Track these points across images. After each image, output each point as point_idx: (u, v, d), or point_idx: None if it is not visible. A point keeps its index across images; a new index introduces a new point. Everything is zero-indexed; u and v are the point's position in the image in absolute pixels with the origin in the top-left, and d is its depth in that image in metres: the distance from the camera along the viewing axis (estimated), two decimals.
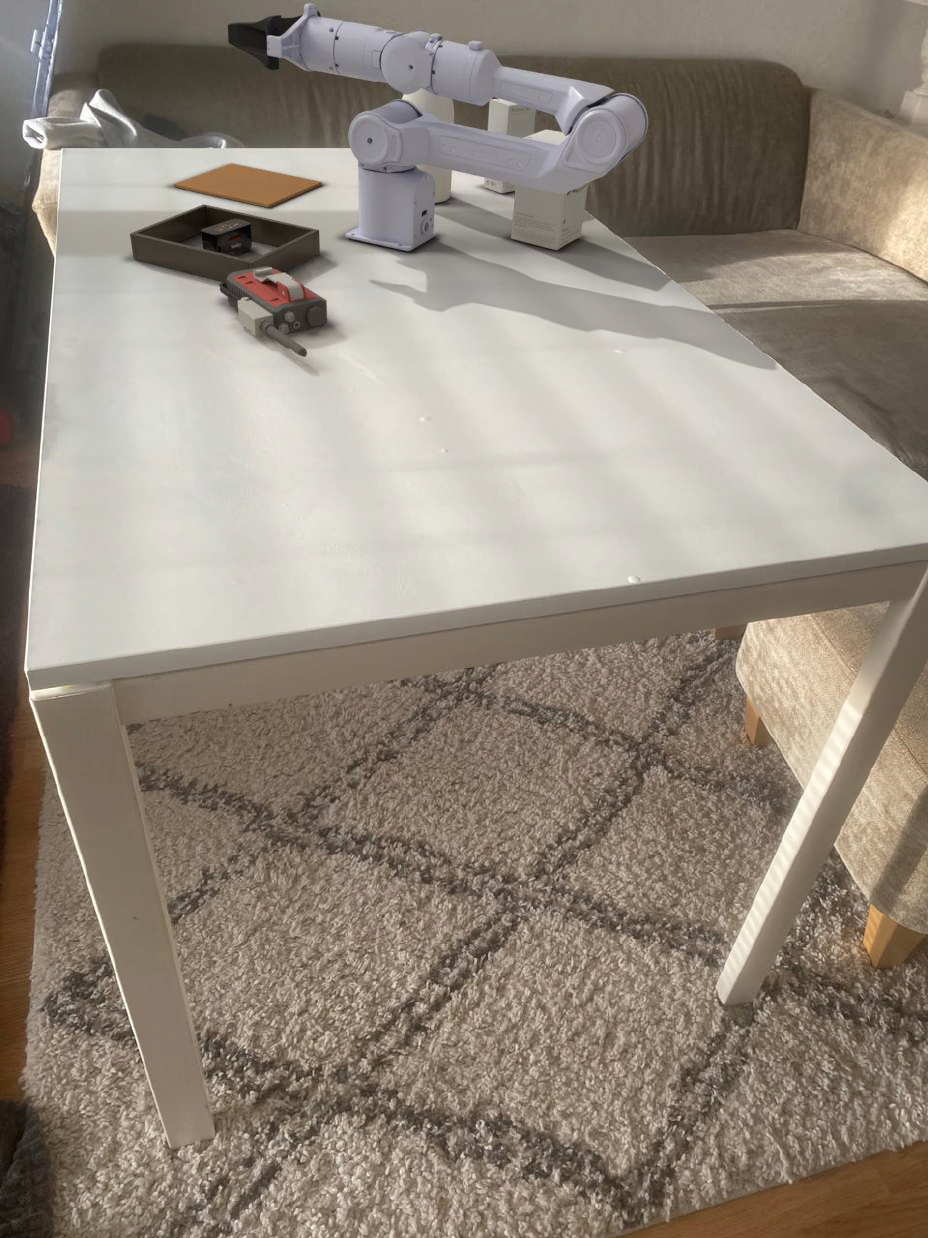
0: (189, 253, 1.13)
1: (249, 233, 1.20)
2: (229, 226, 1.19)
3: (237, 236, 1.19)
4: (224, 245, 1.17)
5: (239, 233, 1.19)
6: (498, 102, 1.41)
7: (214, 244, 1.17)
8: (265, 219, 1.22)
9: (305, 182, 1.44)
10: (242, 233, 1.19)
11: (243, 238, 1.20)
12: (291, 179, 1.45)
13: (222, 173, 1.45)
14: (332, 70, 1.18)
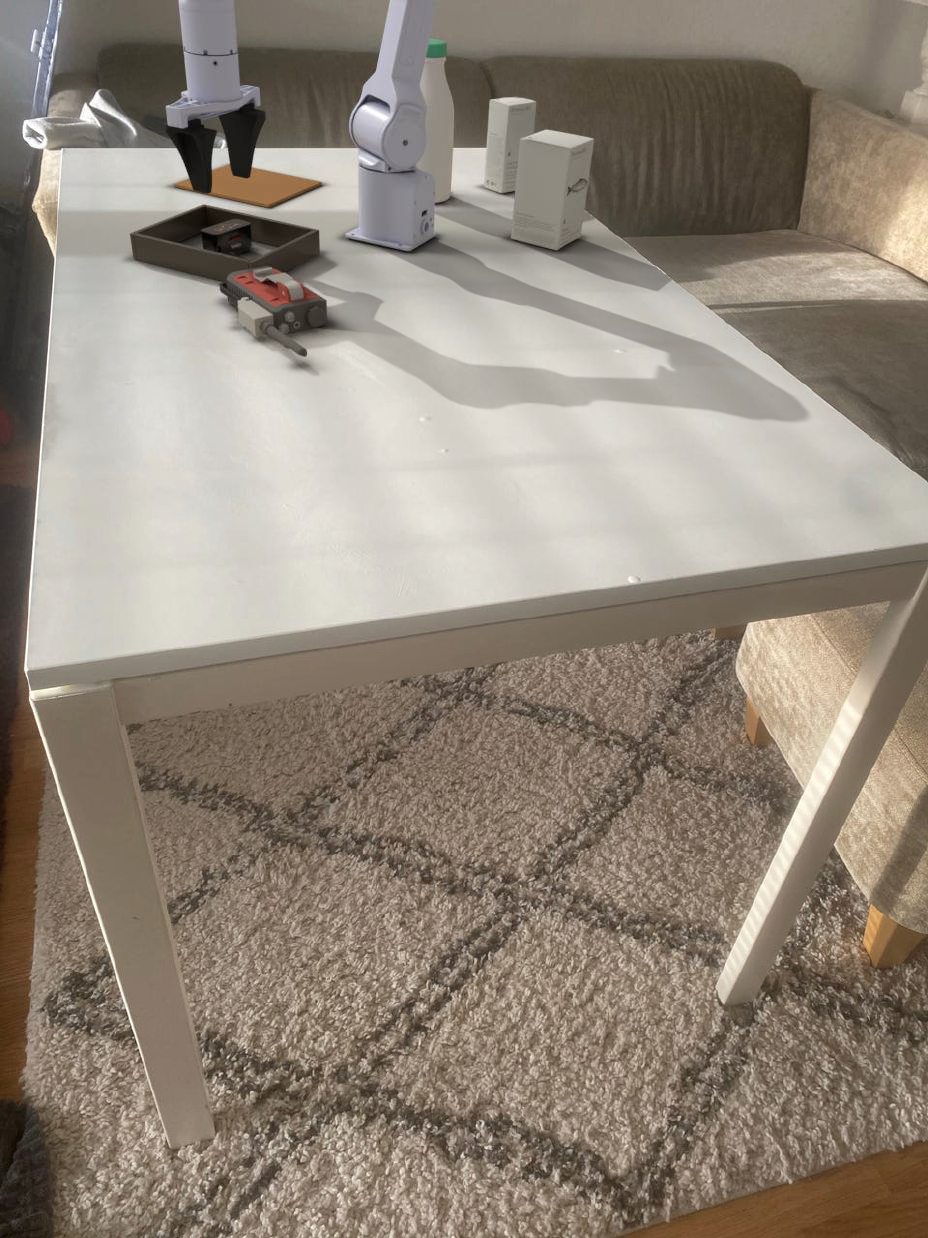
0: (189, 253, 1.13)
1: (249, 233, 1.20)
2: (229, 226, 1.19)
3: (237, 236, 1.19)
4: (224, 245, 1.17)
5: (239, 233, 1.19)
6: (498, 102, 1.41)
7: (214, 244, 1.17)
8: (265, 219, 1.22)
9: (305, 182, 1.44)
10: (242, 233, 1.19)
11: (243, 238, 1.20)
12: (291, 179, 1.45)
13: (222, 173, 1.45)
14: (218, 63, 1.04)
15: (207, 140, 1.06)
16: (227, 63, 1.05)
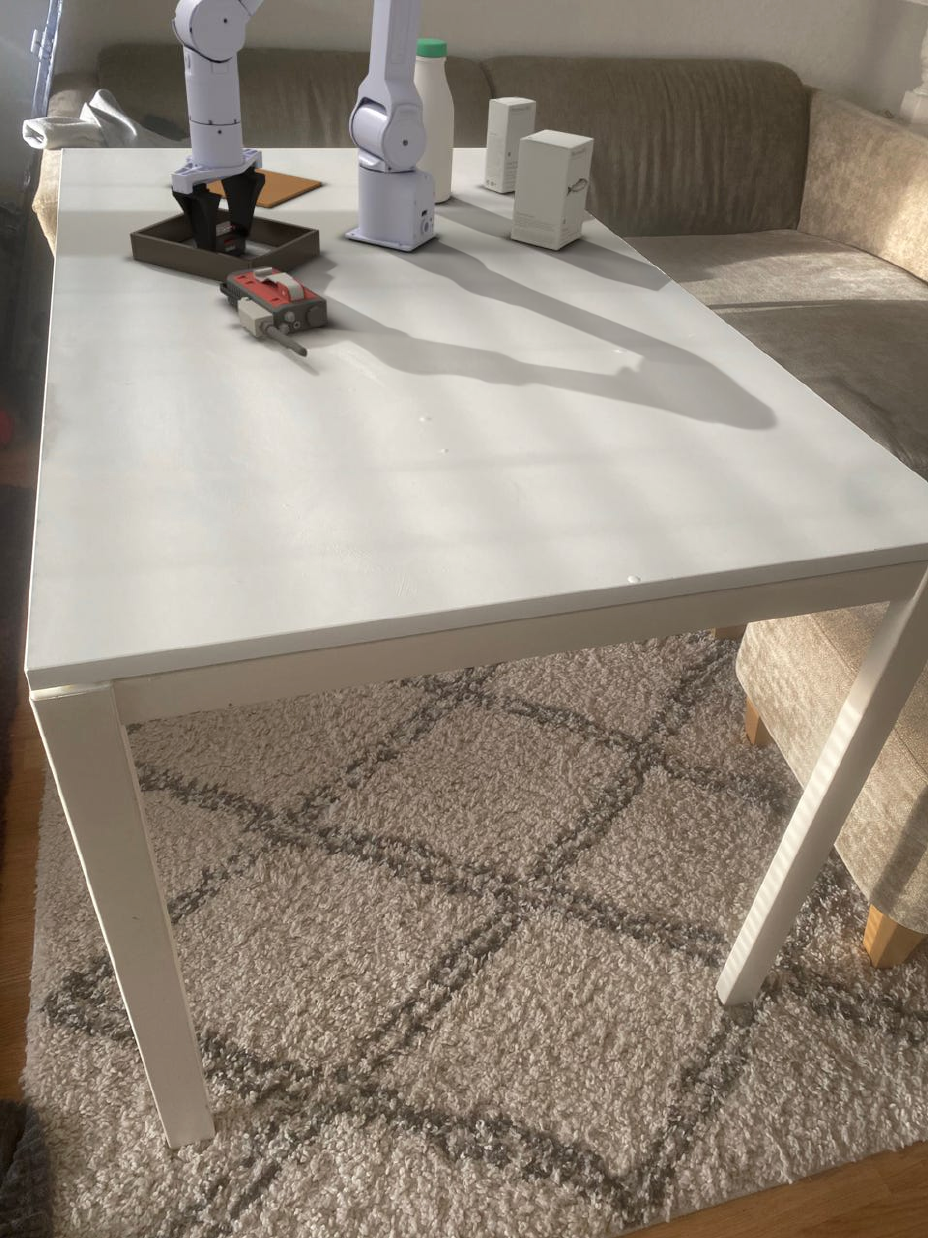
0: (189, 253, 1.13)
1: (243, 235, 1.19)
2: (223, 229, 1.18)
3: (231, 239, 1.18)
4: (219, 248, 1.17)
5: (233, 236, 1.18)
6: (498, 102, 1.41)
7: None
8: (265, 219, 1.22)
9: (305, 182, 1.44)
10: (236, 236, 1.18)
11: (237, 241, 1.19)
12: (291, 179, 1.45)
13: None
14: (223, 131, 1.08)
15: (212, 204, 1.10)
16: (231, 132, 1.09)
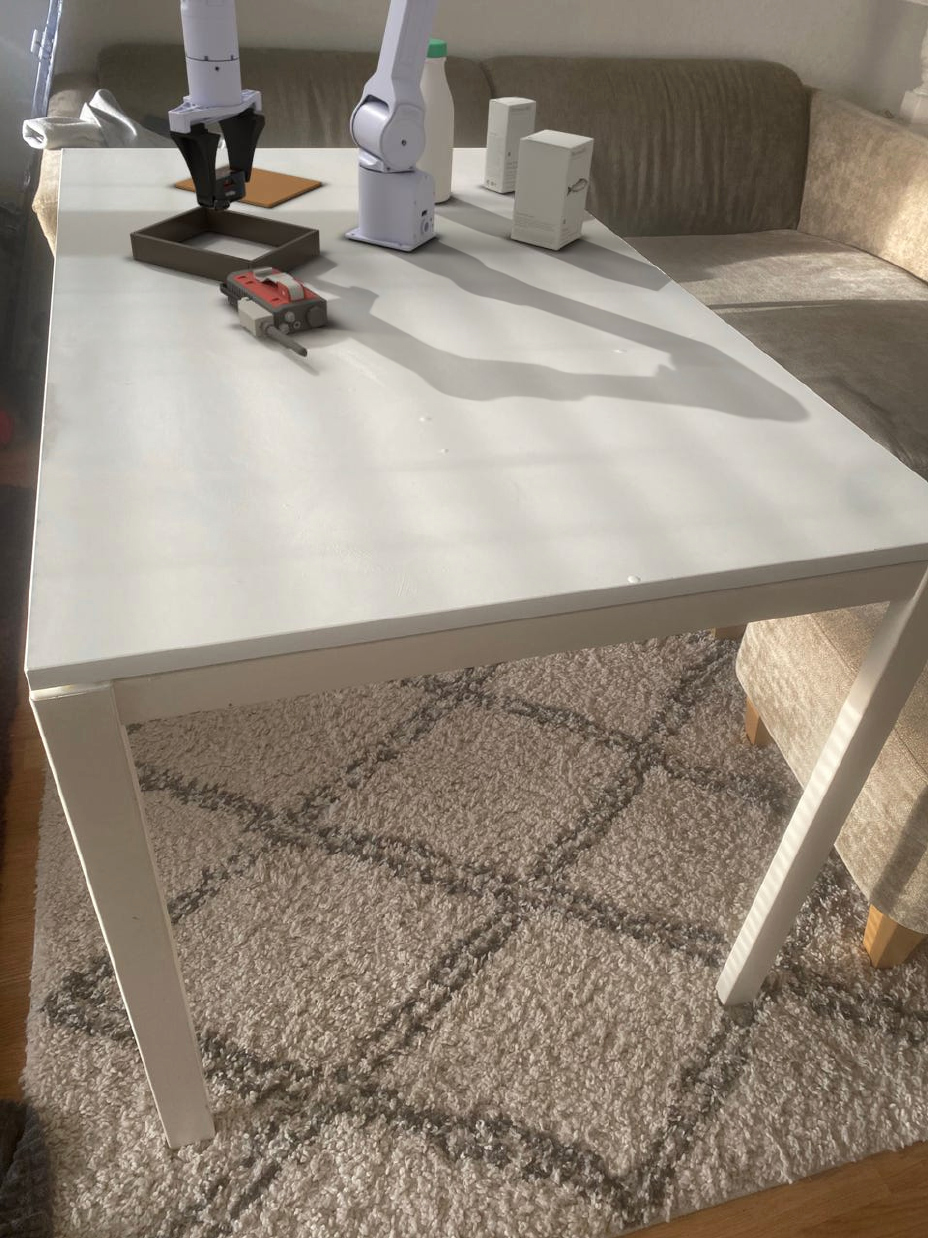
0: (189, 253, 1.13)
1: (243, 180, 1.17)
2: (222, 173, 1.15)
3: (231, 183, 1.15)
4: (218, 192, 1.14)
5: (233, 180, 1.15)
6: (498, 102, 1.41)
7: None
8: (265, 219, 1.22)
9: (305, 182, 1.44)
10: (236, 180, 1.16)
11: (237, 186, 1.16)
12: (291, 179, 1.45)
13: None
14: (220, 68, 1.06)
15: (211, 144, 1.08)
16: (229, 68, 1.06)
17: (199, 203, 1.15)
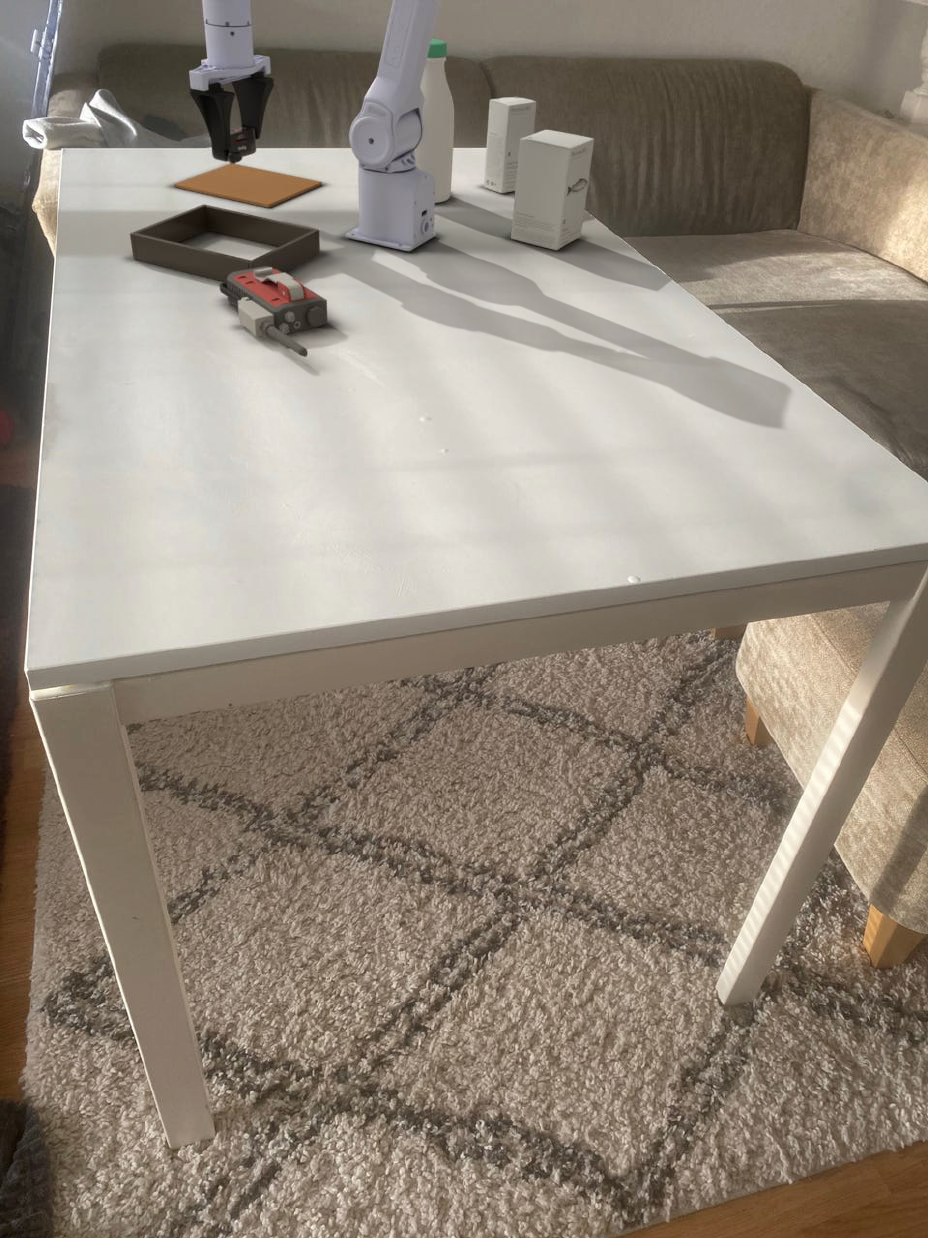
0: (189, 253, 1.13)
1: (253, 137, 1.30)
2: (235, 129, 1.28)
3: (243, 139, 1.29)
4: (231, 146, 1.27)
5: (245, 136, 1.29)
6: (498, 102, 1.41)
7: None
8: (265, 219, 1.22)
9: (305, 182, 1.44)
10: (247, 136, 1.29)
11: (248, 141, 1.29)
12: (291, 179, 1.45)
13: (222, 173, 1.45)
14: (235, 33, 1.19)
15: (226, 101, 1.21)
16: (242, 33, 1.19)
17: (214, 156, 1.28)
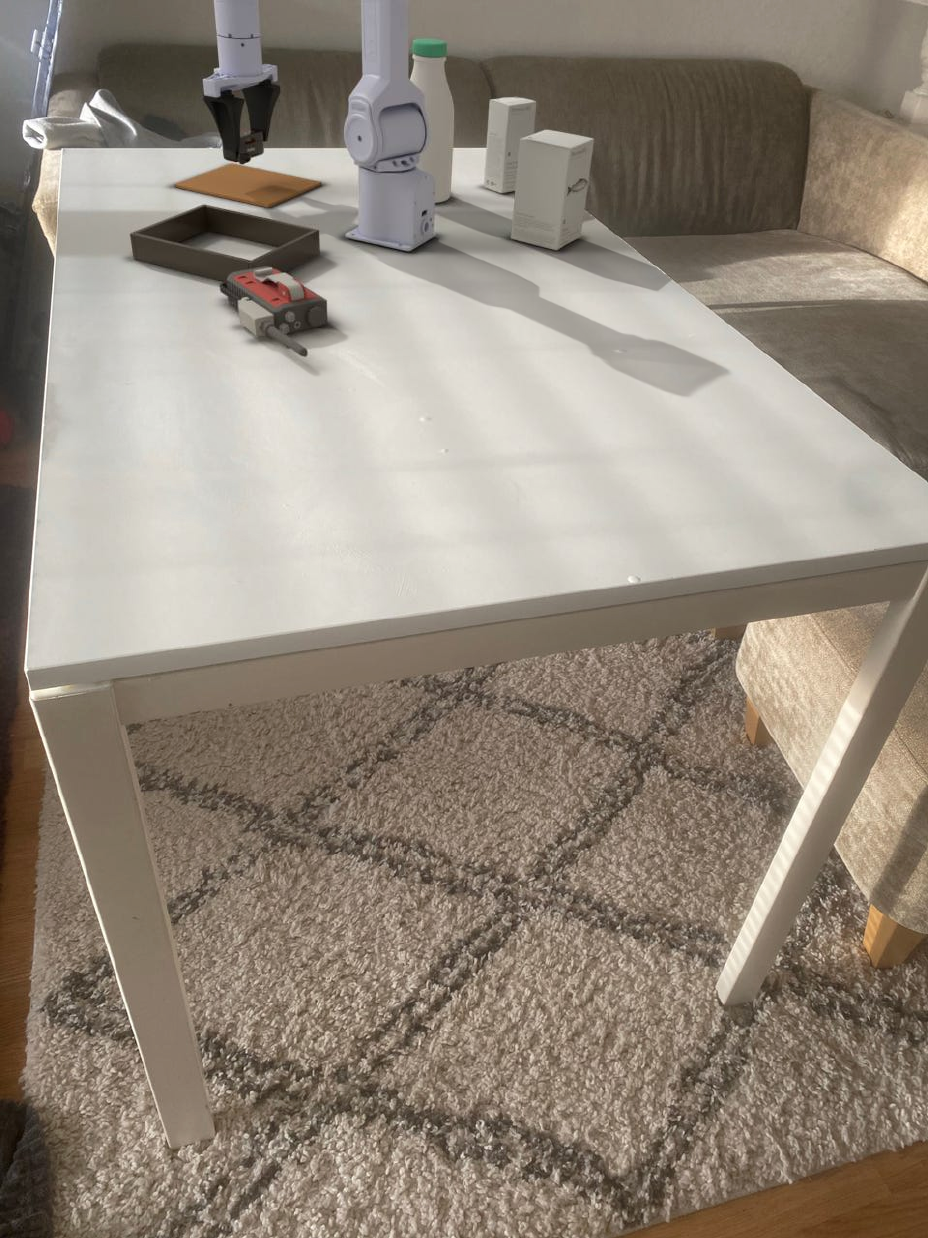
0: (189, 253, 1.13)
1: (261, 139, 1.40)
2: (244, 132, 1.39)
3: (252, 141, 1.39)
4: (241, 148, 1.38)
5: (253, 138, 1.39)
6: (498, 102, 1.41)
7: None
8: (265, 219, 1.22)
9: (305, 182, 1.44)
10: (256, 139, 1.39)
11: (256, 143, 1.40)
12: (291, 179, 1.45)
13: (222, 173, 1.45)
14: (245, 44, 1.29)
15: (237, 107, 1.31)
16: (252, 44, 1.30)
17: (225, 157, 1.38)
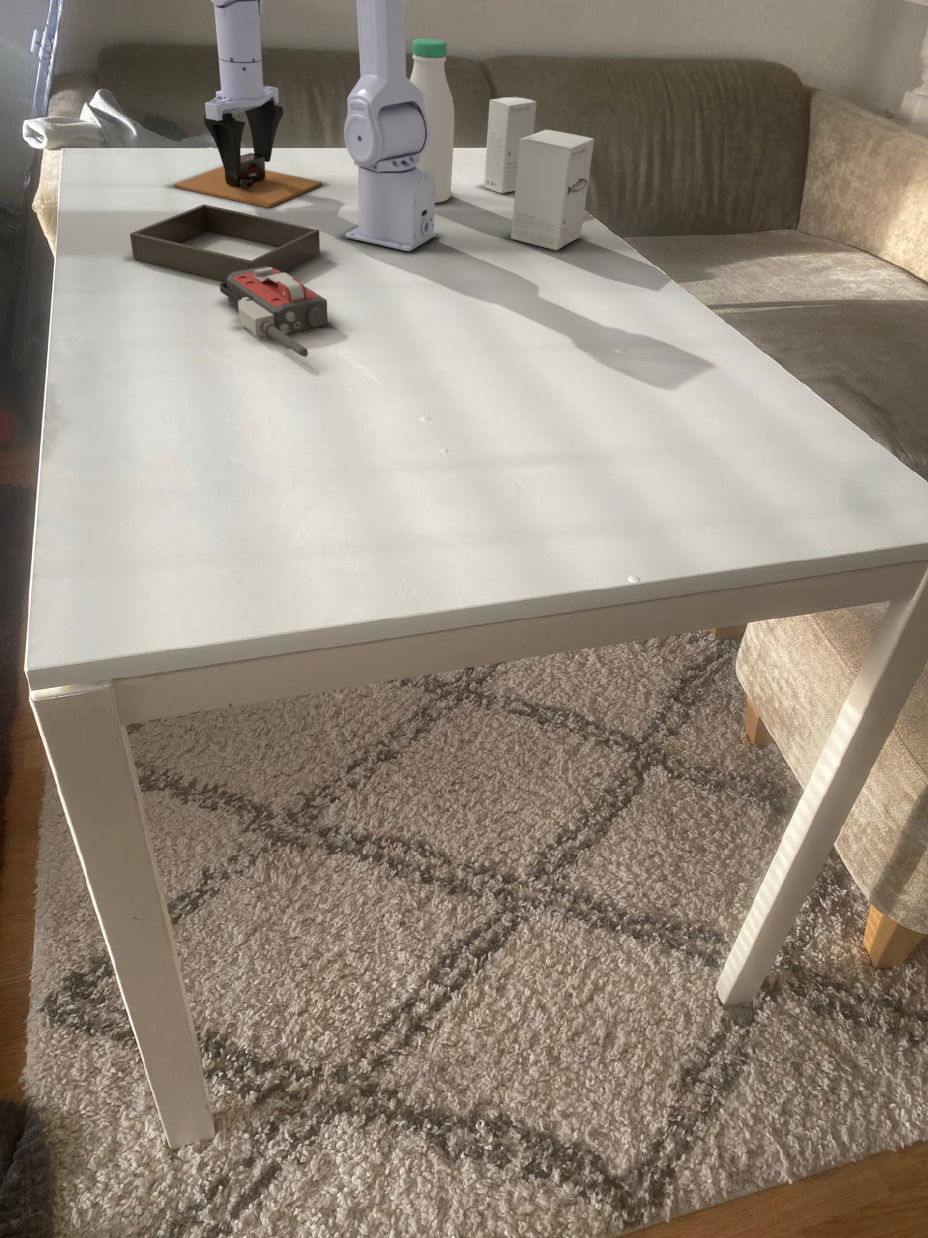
0: (189, 253, 1.13)
1: (263, 164, 1.43)
2: (247, 158, 1.41)
3: (253, 167, 1.41)
4: (243, 173, 1.40)
5: (255, 164, 1.41)
6: (498, 102, 1.41)
7: None
8: (265, 219, 1.22)
9: (305, 182, 1.44)
10: (258, 164, 1.42)
11: (258, 169, 1.42)
12: (291, 179, 1.45)
13: (222, 173, 1.45)
14: (247, 68, 1.31)
15: (237, 130, 1.33)
16: (253, 68, 1.32)
17: (227, 182, 1.40)
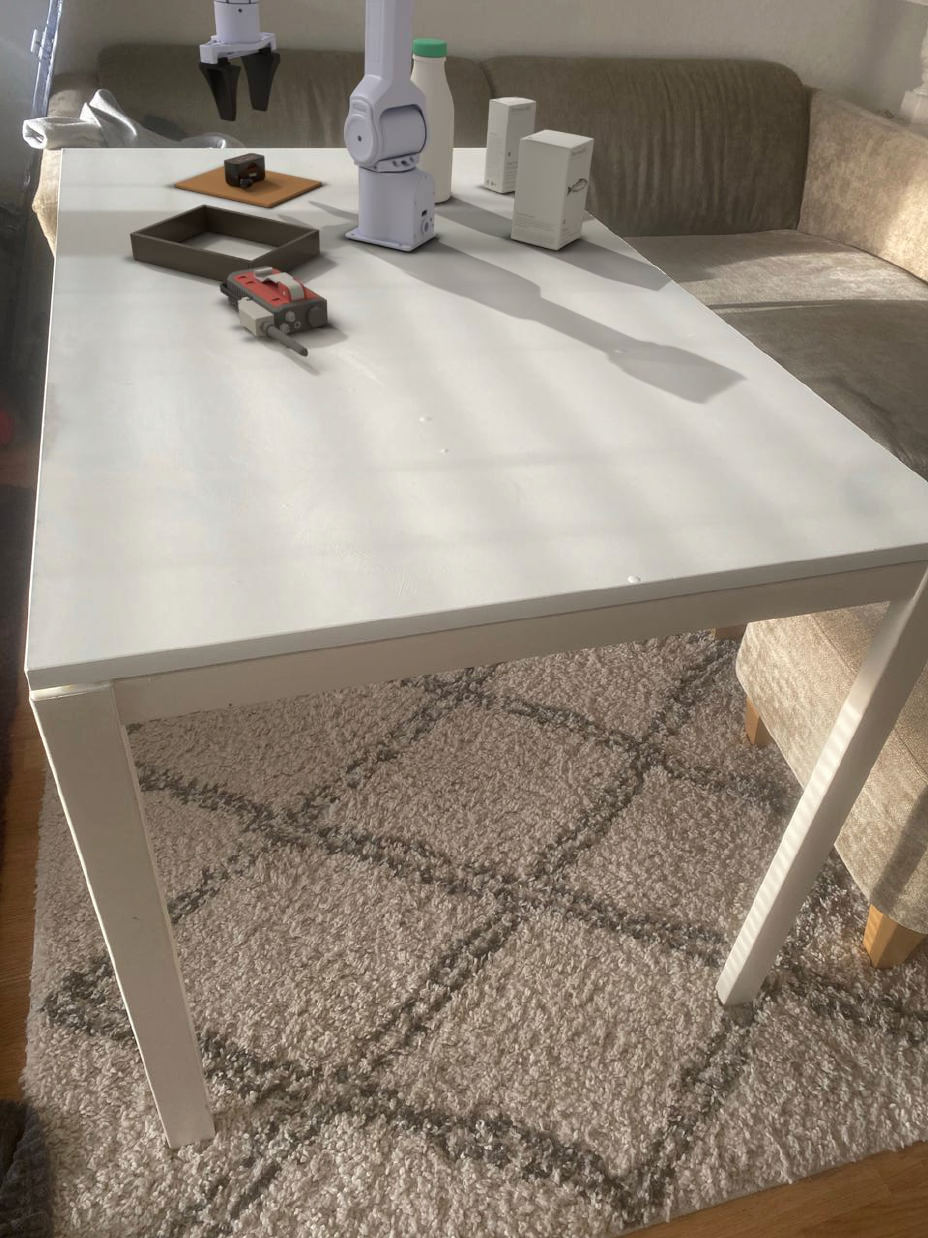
0: (189, 253, 1.13)
1: (263, 164, 1.43)
2: (247, 158, 1.41)
3: (253, 167, 1.41)
4: (243, 173, 1.40)
5: (255, 164, 1.41)
6: (498, 102, 1.41)
7: (235, 172, 1.39)
8: (265, 219, 1.22)
9: (305, 182, 1.44)
10: (258, 164, 1.42)
11: (258, 169, 1.42)
12: (291, 179, 1.45)
13: (222, 173, 1.45)
14: (243, 10, 1.27)
15: (233, 74, 1.29)
16: (250, 10, 1.27)
17: (227, 182, 1.40)
